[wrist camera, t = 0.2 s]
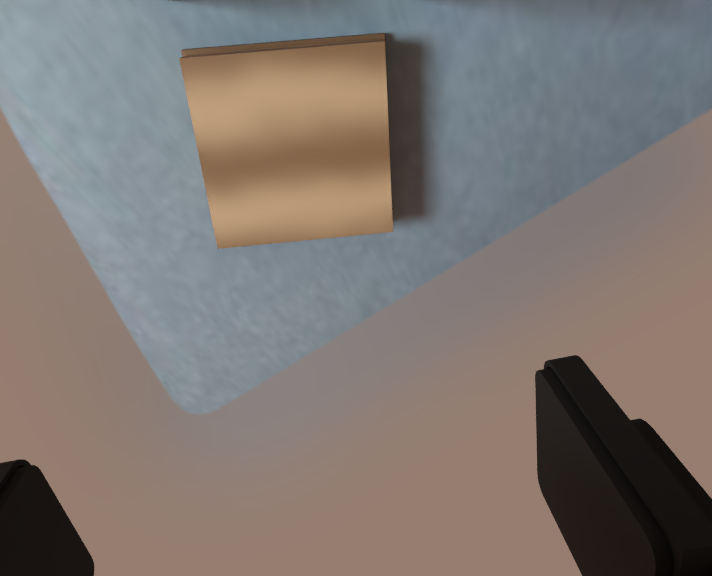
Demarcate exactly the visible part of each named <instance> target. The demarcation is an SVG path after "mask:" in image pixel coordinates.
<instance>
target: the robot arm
mask: <svg viewBox="0 0 712 576" xmlns="http://www.w3.org/2000/svg"><path fill="white" fill-rule="evenodd" d="M535 382H536V425H537V426H536V427H537V471H538V481H539V485H540V488H541V491H542V494H543V496H544V498H545V500H546V502H547V504H548V506H549V508H550V511H551V513H552V515H553V517H554V519H555V521H556V523H557V525H558V527H559V529H560V531H561V533H562V535H563V537H564V539H565V541H566V543H567V545H568V547H569V549H570V551H571V553H572V555H573V557H574V559H575V562H576V563H577V566H578V568H579V570H580V572H581V574H582V576H712V499H711V498H710V497H709V496H708V494H707V493H706V492H705V491H704V489H703V488H702V487H701V486H700V485H699V483H698V482H697V481H696V480H695V478H694V477H693V476H692V475H691V474H690V472H689V471H688V470H687V469H686V468H685V466H684V465H683V464H682V463H681V462H680V460H679V459H678V458H677V457H676V456H675V454H674V453H673V452H672V451H671V450H670V448H669V447H668V446H667V445H666V444H665V442H664V441H663V440H662V439H661V438H660V436H659V435H658V434H657V433H656V431H655V430H654V429H653V428H652V427H651V426H650V425H649V424H648V423H647V422H646V421H644V420H642V419H635V420H630V419H629V418H628V417H627V416H626V414H625V413H624V412H623V411H622V409H621V408H620V407H619V406H618V404H617V403H616V402H615V400H614V399H613V398H612V397H611V395H610V394H609V393H608V392H607V391H606V389H605V388H604V387H603V385H602V384H601V383H600V382H599V380H598V379H597V378H596V376H595V375H594V374H593V373H592V372H591V370H590V369H589V368H588V366H587V365H586V364H585V363H584V361H583V360H582V359H581V358H580V357H579V356H576V355H574V356H569V357H564V358H558V359H553V360H548V361H546V362H545V365H544V369H543V370H538V371H536V376H535ZM0 576H94V562H93V559H92V557H91V555H90V554H89V552H88V550H87V548H86V547H85V545H84V543H83V542H82V540H81V538H80V536H79V535H78V533H77V531H76V530H75V528H74V526H73V525H72V523H71V521H70V520H69V518H68V516H67V515H66V513H65V511H64V510H63V508H62V506H61V504H60V503H59V501H58V499H57V498H56V496H55V494H54V492H53V491H52V489H51V487H50V486H49V484H48V482H47V481H46V479H45V477H44V475H43V474H42V472H41V470H40V469H39V468H38V467H37V466H35V465H30V463H29V462H28V461H26V460H15V461H9V462H4V463H0Z"/></svg>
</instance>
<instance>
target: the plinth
mask: <svg viewBox="0 0 712 576" xmlns="http://www.w3.org/2000/svg"><path fill="white" fill-rule="evenodd" d="M181 51H182V56H183V57H181V58H179V59H180V64H181V69H182V74H183V79H184V84H185V89H186V94H187V99H188V104H189V109H190V114H191V118H192V123H193V128H194V133H195V138H196V143H197V148H198V153H199V158H200V163H201V168H202V173H203V178H204V183H205V188H206V193H207V198H208V203H209V208H210V213H211V218H212V223H213V228H214V232H215V237H216V242H217V247H218V249H219V248H229V247H239V246H250V245H260V244H271V243H281V242H291V241H302V240H312V239H322V238H333V237H343V236H353V235H364V234H374V233H384V232H393V220H392V196H391V173H390V149H389V125H388V102H387V78H386V54H385V33H378V34H366V35H354V36H342V37H329V38H317V39H305V40H293V41H280V42H268V43H256V44H244V45H232V46H219V47H207V48H195V49H183V50H181Z"/></svg>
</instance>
